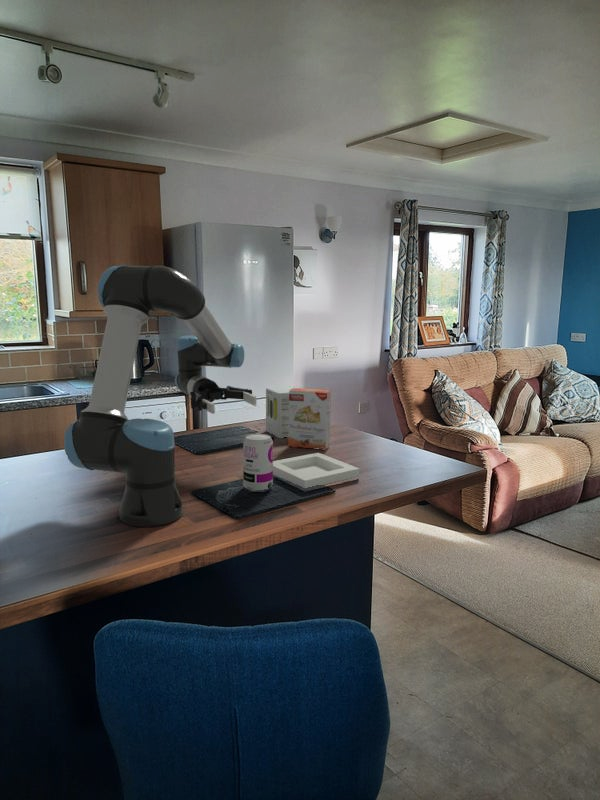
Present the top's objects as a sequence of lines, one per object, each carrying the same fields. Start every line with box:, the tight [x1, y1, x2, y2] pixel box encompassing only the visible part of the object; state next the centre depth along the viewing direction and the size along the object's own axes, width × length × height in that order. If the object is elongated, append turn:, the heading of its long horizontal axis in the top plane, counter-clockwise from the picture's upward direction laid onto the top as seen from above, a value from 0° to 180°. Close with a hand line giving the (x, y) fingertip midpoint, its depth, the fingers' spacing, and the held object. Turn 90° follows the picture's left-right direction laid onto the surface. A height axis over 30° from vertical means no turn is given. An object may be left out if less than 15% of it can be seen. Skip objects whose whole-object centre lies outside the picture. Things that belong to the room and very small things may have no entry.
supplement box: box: [265, 385, 300, 439], centre depth 221 cm, size 13×13×18 cm
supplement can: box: [242, 433, 274, 490], centre depth 159 cm, size 8×8×15 cm
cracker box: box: [287, 387, 332, 450], centre depth 202 cm, size 14×6×21 cm, turn 73°
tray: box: [273, 452, 360, 488], centre depth 171 cm, size 20×20×4 cm
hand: (234, 405), depth 164 cm, fingers open, 13 cm apart
